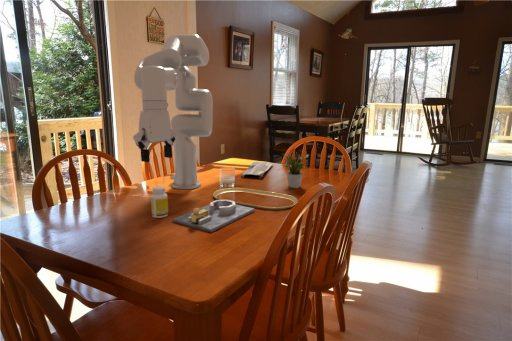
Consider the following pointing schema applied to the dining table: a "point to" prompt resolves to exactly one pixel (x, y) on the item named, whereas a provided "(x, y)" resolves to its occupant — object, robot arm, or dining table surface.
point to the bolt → (198, 214)
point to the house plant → (294, 171)
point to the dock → (216, 215)
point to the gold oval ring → (257, 193)
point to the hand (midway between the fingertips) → (157, 159)
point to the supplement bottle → (159, 202)
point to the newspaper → (257, 168)
